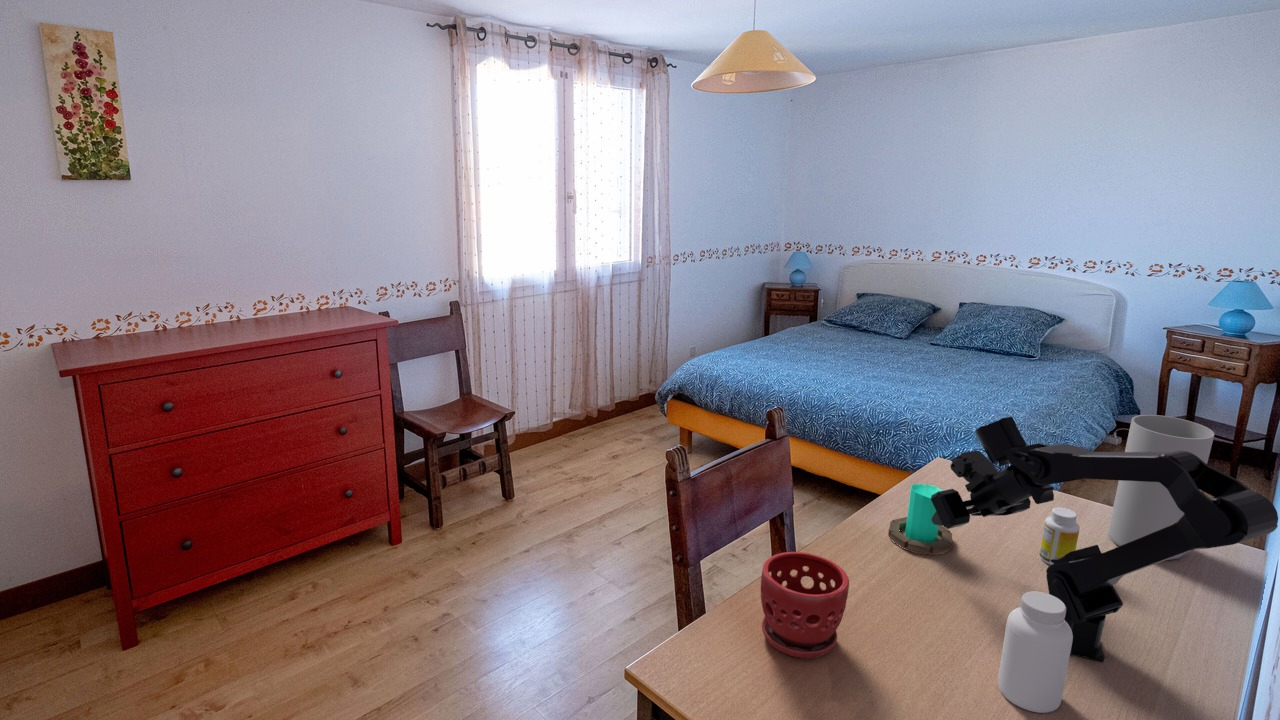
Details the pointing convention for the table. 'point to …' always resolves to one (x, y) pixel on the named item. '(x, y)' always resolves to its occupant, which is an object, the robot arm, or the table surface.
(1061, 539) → the supplement bottle
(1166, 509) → the cylinder vase
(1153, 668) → the table surface
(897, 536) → the ring seat
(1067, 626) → the pill bottle
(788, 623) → the plant pot
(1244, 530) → the robot arm
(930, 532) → the candle
